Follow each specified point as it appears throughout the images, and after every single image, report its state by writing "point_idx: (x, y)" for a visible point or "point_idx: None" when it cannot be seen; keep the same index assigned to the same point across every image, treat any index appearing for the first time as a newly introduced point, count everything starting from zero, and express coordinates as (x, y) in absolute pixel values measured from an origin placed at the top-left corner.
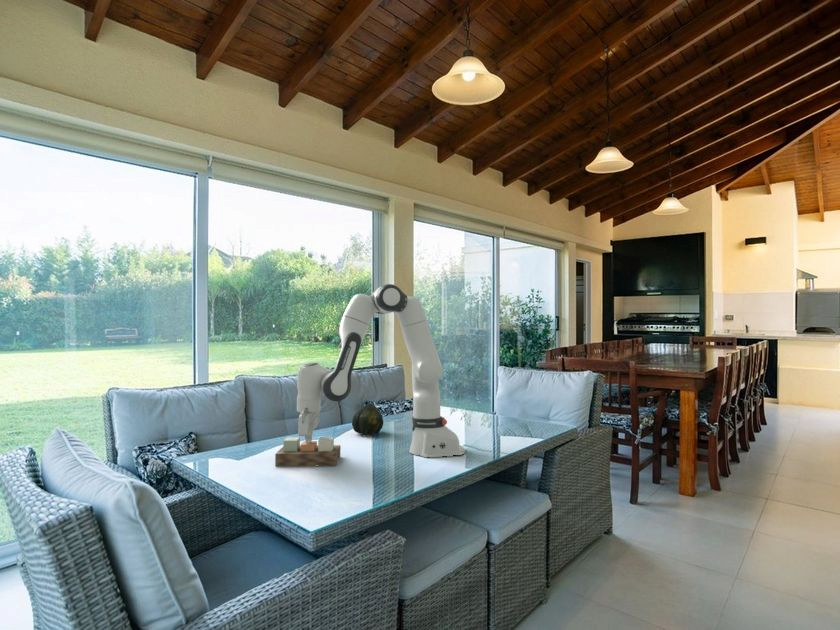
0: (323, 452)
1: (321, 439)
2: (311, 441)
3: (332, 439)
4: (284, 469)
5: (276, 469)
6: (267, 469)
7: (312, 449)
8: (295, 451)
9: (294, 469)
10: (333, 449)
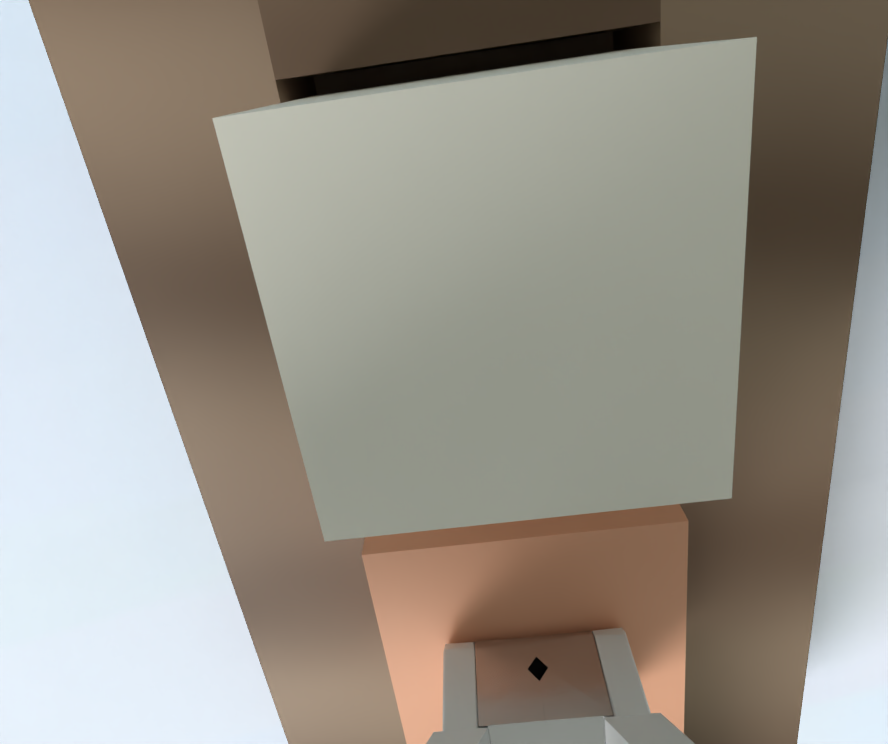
0: (766, 216)
1: (612, 445)
2: (408, 645)
3: (546, 68)
4: (857, 594)
5: (844, 663)
6: (831, 732)
7: None
8: None
9: (876, 494)
10: (478, 49)
